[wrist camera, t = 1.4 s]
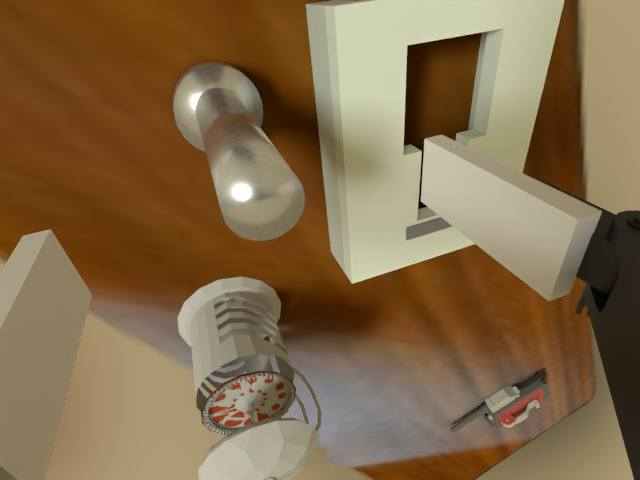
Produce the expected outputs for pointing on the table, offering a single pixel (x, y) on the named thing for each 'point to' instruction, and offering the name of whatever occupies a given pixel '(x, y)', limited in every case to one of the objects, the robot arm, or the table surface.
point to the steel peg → (237, 150)
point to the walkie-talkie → (511, 403)
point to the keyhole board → (389, 114)
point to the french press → (245, 383)
